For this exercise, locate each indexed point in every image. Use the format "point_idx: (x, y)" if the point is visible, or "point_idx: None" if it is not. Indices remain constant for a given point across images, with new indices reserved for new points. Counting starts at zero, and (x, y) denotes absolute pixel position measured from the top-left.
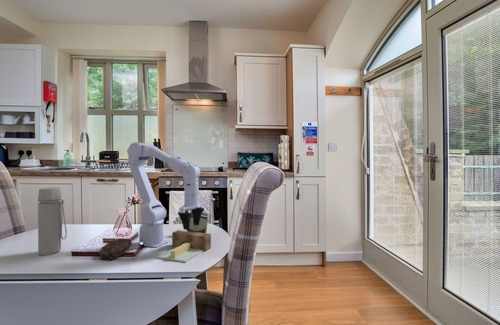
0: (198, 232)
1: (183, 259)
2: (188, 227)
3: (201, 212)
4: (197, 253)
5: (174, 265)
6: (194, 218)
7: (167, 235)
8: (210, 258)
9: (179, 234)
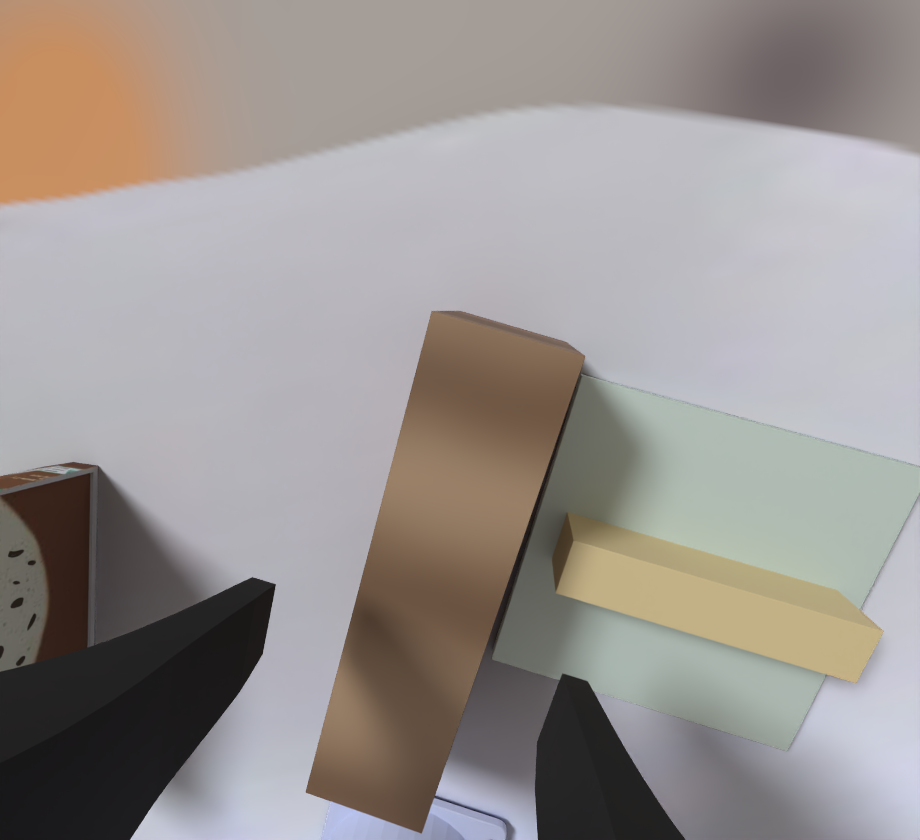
0: (61, 555)
1: (884, 501)
2: (601, 707)
3: (33, 709)
4: (692, 405)
5: None
6: (183, 739)
7: (151, 813)
8: (799, 231)
9: (453, 736)
